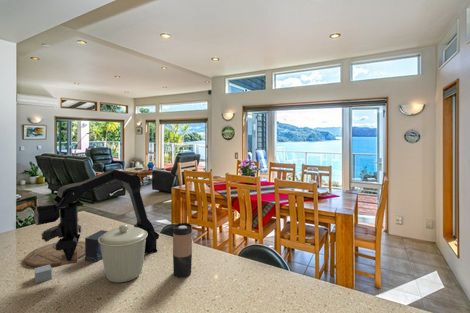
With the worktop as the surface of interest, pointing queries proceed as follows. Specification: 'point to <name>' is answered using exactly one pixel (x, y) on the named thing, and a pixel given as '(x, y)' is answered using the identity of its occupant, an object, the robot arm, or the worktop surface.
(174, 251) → the travel mug
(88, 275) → the worktop surface
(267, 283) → the worktop surface
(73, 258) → the walnut block
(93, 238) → the small box
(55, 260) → the trivet
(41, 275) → the slate block
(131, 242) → the canister
